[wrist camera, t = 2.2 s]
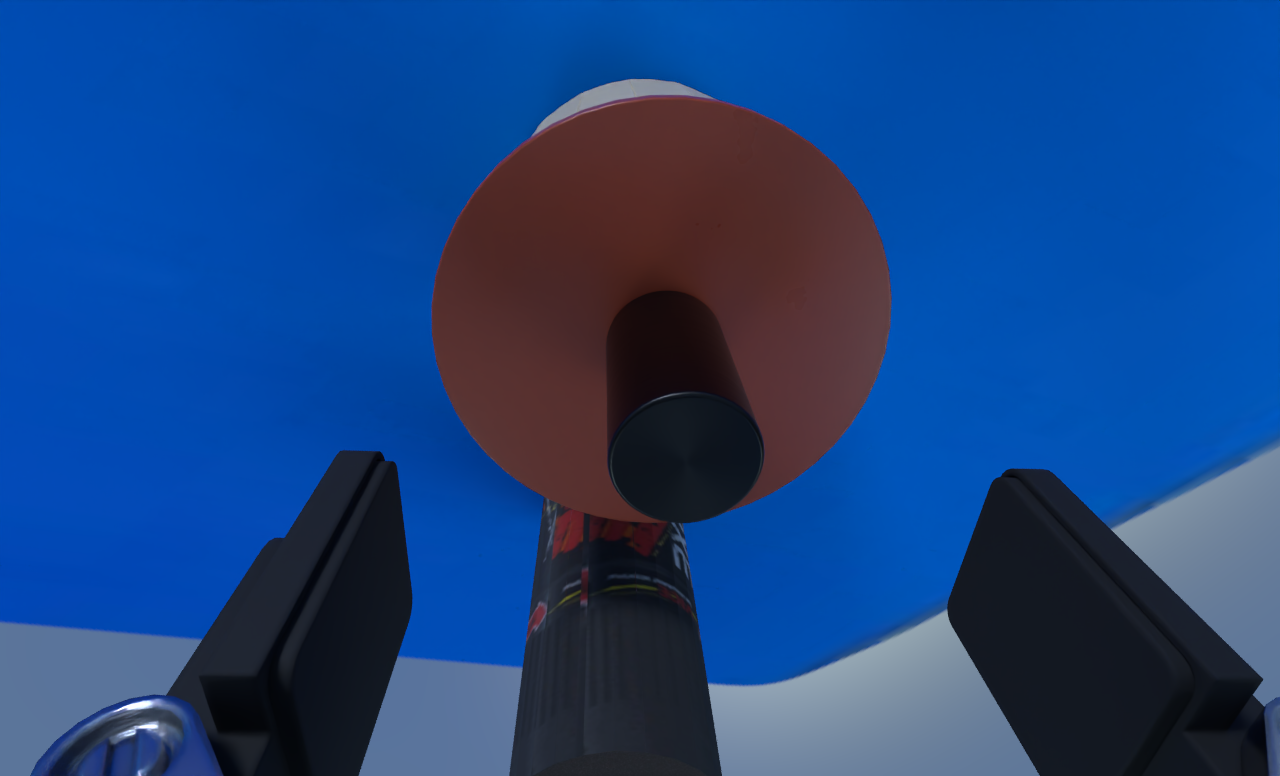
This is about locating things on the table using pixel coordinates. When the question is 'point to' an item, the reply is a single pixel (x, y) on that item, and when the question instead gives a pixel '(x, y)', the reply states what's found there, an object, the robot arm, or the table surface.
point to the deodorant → (612, 654)
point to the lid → (661, 309)
